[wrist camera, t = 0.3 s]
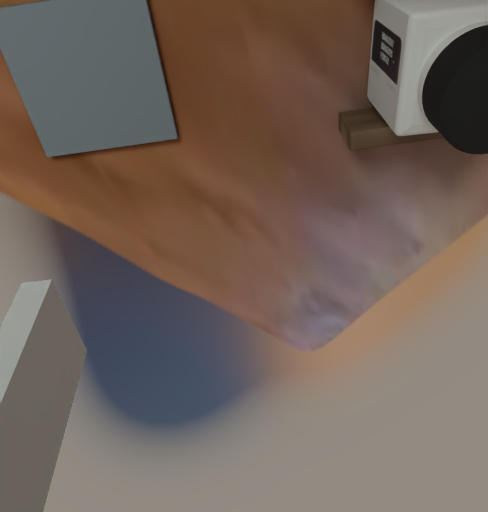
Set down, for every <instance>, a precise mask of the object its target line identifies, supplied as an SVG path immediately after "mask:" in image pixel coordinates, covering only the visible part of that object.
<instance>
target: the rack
mask: <svg viewBox="0 0 488 512" xmlns="http://www.w3.org/2000/svg"><path fill="white" fill-rule="evenodd" d="M339 131H340V132H341V134H342V136H343V138H344V140H345V142H346V143H347V145H348V147H349V149H350V151H351V150H358V149H365V148H372V147H379V146H386V145H393V144H400V143H407V142H415V141H422V140H429V139H436V138H443V136H442V135H441V134H440V133H439V132H436V133H426V134H417V135H408V136H397V135H396V134H395V133H394V132H393V130H392V129H391V128H390V127H389V125H388V124H387V123H386V121H385V120H384V119H383V117H382V116H381V115H380V114H379V112H378V111H377V110H376V108H368V109H361V110H354V111H347V112H340V113H339Z"/></svg>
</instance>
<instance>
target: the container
mask: <svg viewBox="0 0 488 512" xmlns="http://www.w3.org/2000/svg"><path fill="white" fill-rule="evenodd" d="M367 97H368V99H369V100H370V102H371V103H372V104H373V106H374V107H375V108H376V110H377V111H378V112H379V114H380V115H381V116H382V117H383V119H384V120H385V121H386V123H387V124H388V125H389V127H390V128H391V129H392V130H393V132H394V133H395V134H396V135H397V136H408V135H417V134H426V133H436V132H439V133H440V134H441V135H442V136H443V137H444V138H445V139H446V140H447V141H448V142H449V143H450V144H451V145H452V146H453V147H455V148H456V149H458V150H460V151H463V152H466V153H471V154H488V0H375V4H374V17H373V29H372V41H371V54H370V66H369V79H368V91H367Z"/></svg>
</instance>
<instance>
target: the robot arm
mask: <svg viewBox="0 0 488 512" xmlns="http://www.w3.org/2000/svg"><path fill="white" fill-rule="evenodd" d="M86 352H87V350H86V348H85V346H84V344H83V342H82V340H81V338H80V336H79V334H78V332H77V330H76V328H75V326H74V324H73V322H72V320H71V318H70V315H69V314H68V311H67V309H66V307H65V305H64V303H63V301H62V299H61V297H60V295H59V293H58V291H57V289H56V287H55V285H54V283H53V281H52V280H44V281H36V282H27V283H22V284H21V286H20V288H19V290H18V292H17V294H16V296H15V298H14V301H13V303H12V305H11V307H10V309H9V311H8V313H7V315H6V317H5V319H4V321H3V324H2V325H1V327H0V512H43V510H44V505H45V502H46V499H47V495H48V491H49V487H50V484H51V480H52V476H53V473H54V469H55V465H56V461H57V458H58V455H59V451H60V447H61V443H62V440H63V436H64V433H65V429H66V425H67V421H68V418H69V414H70V410H71V407H72V403H73V399H74V395H75V392H76V388H77V385H78V381H79V377H80V373H81V370H82V366H83V362H84V359H85V355H86Z"/></svg>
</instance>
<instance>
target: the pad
mask: <svg viewBox="0 0 488 512" xmlns="http://www.w3.org/2000/svg"><path fill="white" fill-rule="evenodd" d="M0 49H1V51H2V53H3V56H4V58H5V60H6V63H7V65H8V67H9V70H10V72H11V74H12V77H13V79H14V81H15V84H16V86H17V88H18V91H19V93H20V95H21V98H22V100H23V102H24V105H25V107H26V109H27V112H28V114H29V116H30V119H31V121H32V123H33V125H34V128H35V130H36V132H37V135H38V137H39V139H40V142H41V144H42V146H43V149H44V151H45V153H46V156H47V157H53V156H60V155H67V154H74V153H81V152H88V151H95V150H102V149H109V148H116V147H123V146H130V145H137V144H144V143H151V142H158V141H165V140H172V139H178V134H177V129H176V125H175V121H174V116H173V112H172V107H171V103H170V99H169V94H168V90H167V85H166V81H165V77H164V72H163V68H162V63H161V59H160V55H159V50H158V46H157V41H156V37H155V33H154V28H153V24H152V19H151V15H150V11H149V6H148V2H147V0H46V1H39V2H33V3H26V4H20V5H13V6H7V7H0Z"/></svg>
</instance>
